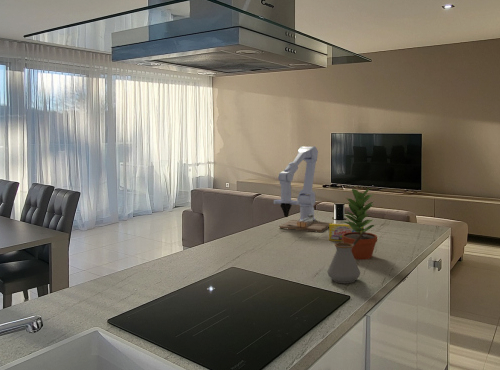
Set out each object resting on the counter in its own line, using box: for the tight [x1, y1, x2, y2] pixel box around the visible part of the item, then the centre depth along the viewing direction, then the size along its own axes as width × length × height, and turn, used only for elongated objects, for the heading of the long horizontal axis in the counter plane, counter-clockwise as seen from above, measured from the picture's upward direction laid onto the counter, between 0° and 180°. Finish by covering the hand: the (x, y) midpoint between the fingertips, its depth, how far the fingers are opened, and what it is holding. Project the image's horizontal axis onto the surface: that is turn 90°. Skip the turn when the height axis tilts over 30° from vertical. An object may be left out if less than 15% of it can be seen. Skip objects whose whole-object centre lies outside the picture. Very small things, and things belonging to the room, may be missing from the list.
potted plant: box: [340, 186, 378, 261], centre depth 189 cm, size 15×15×30 cm
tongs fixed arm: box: [301, 214, 315, 227], centre depth 251 cm, size 17×4×4 cm, turn 153°
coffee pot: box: [327, 231, 368, 284], centre depth 164 cm, size 21×12×15 cm, turn 139°
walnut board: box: [278, 219, 333, 233], centre depth 251 cm, size 19×24×2 cm
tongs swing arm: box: [297, 218, 309, 227], centre depth 250 cm, size 13×2×2 cm, turn 153°
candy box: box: [328, 223, 365, 242], centre depth 217 cm, size 16×2×8 cm, turn 73°
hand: (286, 216), depth 254 cm, fingers closed
